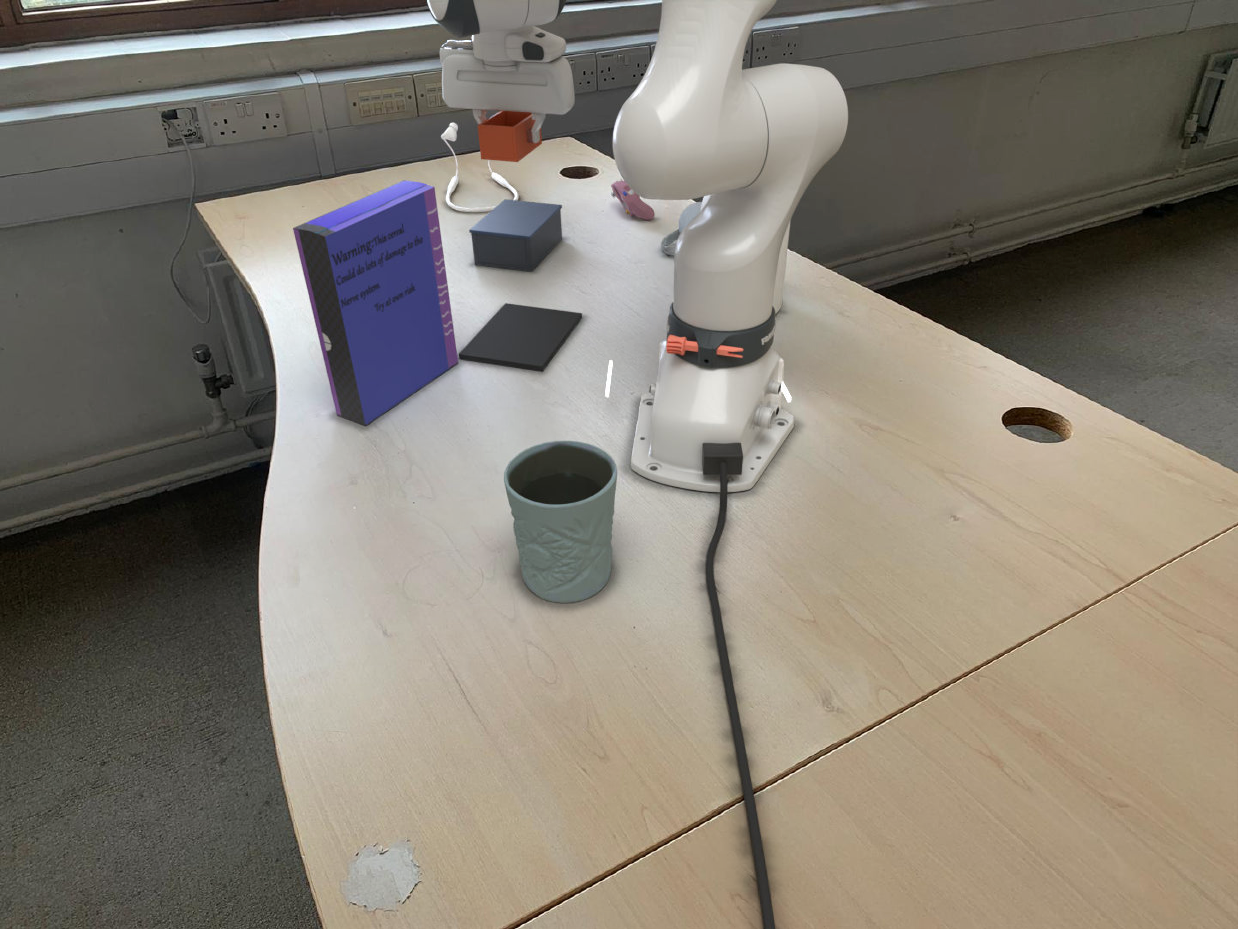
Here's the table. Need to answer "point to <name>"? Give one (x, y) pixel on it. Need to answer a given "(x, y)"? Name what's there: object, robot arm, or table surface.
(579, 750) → the table surface
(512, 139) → the top tub
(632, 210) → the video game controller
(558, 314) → the mat
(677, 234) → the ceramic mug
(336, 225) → the purple flat upright box
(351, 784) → the table surface
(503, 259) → the storage box
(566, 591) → the green embossed cup
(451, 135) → the earphone
